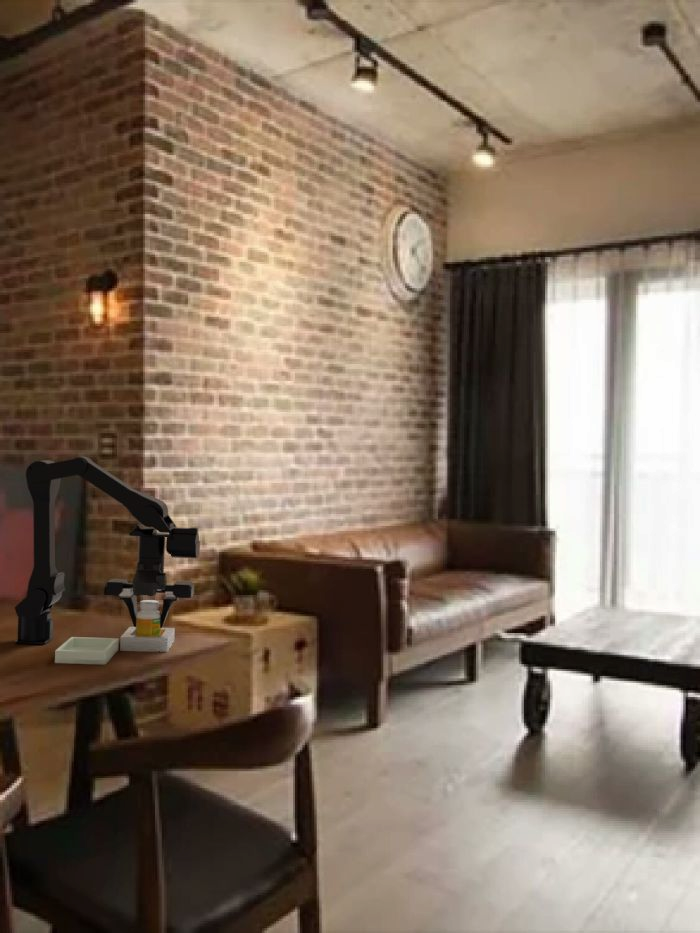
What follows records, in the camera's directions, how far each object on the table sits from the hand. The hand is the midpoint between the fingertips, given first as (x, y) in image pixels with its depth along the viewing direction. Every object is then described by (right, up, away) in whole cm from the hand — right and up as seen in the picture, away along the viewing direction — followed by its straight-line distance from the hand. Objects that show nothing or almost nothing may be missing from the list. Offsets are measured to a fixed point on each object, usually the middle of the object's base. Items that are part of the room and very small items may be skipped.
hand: (148, 627), depth 191 cm
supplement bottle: (0, -4, 0) cm, 4 cm away
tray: (-10, -4, -11) cm, 15 cm away
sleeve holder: (0, -4, 0) cm, 4 cm away
